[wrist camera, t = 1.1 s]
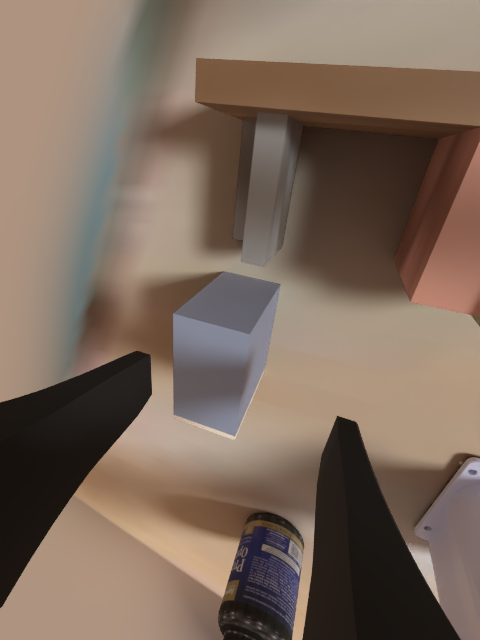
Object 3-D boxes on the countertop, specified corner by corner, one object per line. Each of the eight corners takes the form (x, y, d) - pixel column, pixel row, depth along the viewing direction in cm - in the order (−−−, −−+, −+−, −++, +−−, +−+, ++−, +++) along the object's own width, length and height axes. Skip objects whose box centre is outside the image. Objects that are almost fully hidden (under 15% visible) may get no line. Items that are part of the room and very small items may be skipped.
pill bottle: (247, 503, 30) (199, 653, 21) (308, 524, 28) (285, 698, 19) (246, 536, 33) (204, 681, 24) (302, 557, 31) (279, 723, 22)
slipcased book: (264, 371, 22) (234, 440, 17) (216, 357, 23) (173, 418, 18) (280, 284, 19) (249, 334, 13) (223, 271, 20) (173, 313, 14)
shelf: (516, 293, 15) (611, 369, 9) (232, 237, 18) (180, 269, 13) (624, 118, 11) (879, 76, 6) (246, 90, 15) (182, 48, 9)
